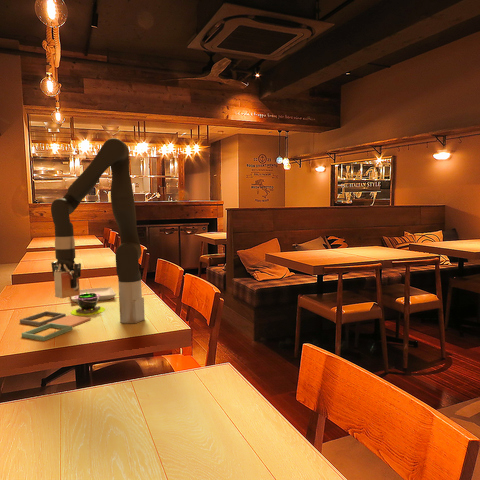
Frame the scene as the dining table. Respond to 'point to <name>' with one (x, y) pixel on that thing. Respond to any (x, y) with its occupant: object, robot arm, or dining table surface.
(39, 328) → the green rectangular frame
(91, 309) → the toy cauldron
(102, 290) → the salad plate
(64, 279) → the small box
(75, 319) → the terracotta tile
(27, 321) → the grey rectangular frame
